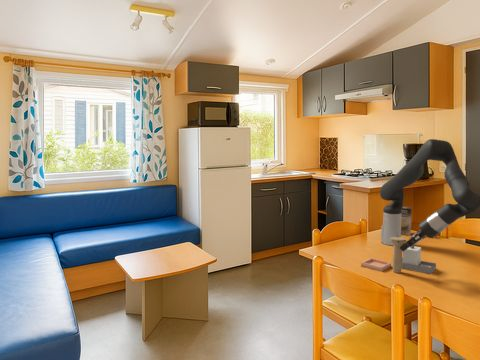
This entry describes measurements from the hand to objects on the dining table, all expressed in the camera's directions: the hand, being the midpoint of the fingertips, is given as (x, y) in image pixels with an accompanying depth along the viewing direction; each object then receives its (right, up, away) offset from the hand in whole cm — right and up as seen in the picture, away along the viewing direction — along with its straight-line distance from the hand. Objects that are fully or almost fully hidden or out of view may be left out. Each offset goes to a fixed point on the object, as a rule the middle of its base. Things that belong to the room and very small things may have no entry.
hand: (404, 247), depth 167 cm
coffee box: (+28, -4, +67) cm, 73 cm away
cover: (+7, -9, +8) cm, 14 cm away
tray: (-8, -11, +11) cm, 17 cm away
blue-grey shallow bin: (+8, -11, +8) cm, 15 cm away
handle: (-2, -12, +3) cm, 12 cm away
